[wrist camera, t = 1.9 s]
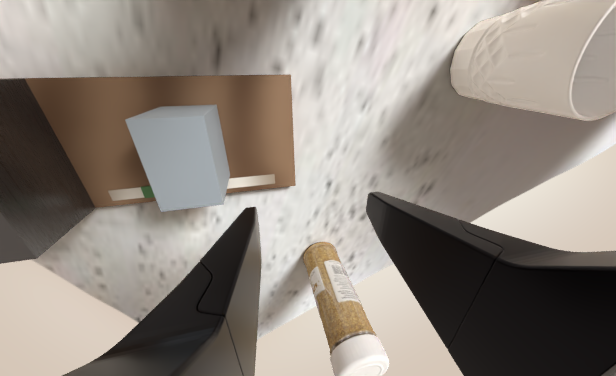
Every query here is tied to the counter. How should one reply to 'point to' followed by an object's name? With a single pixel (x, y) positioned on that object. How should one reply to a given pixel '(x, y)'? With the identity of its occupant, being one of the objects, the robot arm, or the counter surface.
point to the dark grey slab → (34, 178)
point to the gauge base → (159, 93)
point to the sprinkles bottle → (343, 316)
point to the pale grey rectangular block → (182, 155)
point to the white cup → (543, 59)
